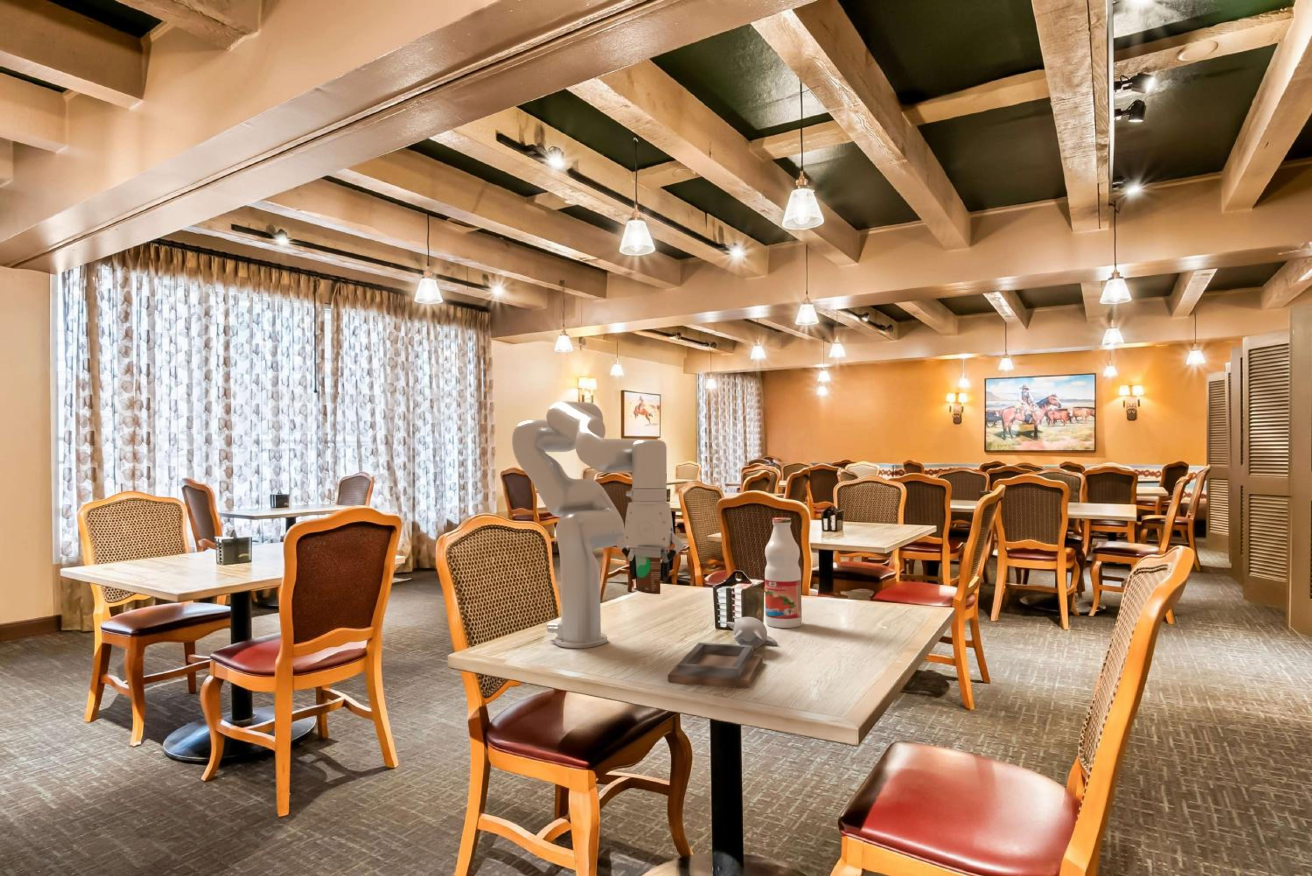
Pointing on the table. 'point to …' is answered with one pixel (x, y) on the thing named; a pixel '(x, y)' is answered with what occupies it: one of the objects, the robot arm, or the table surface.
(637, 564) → the food container
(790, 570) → the fruit juice
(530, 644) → the table surface
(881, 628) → the table surface
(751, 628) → the toy creature
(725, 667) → the square wooden tray
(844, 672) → the table surface
